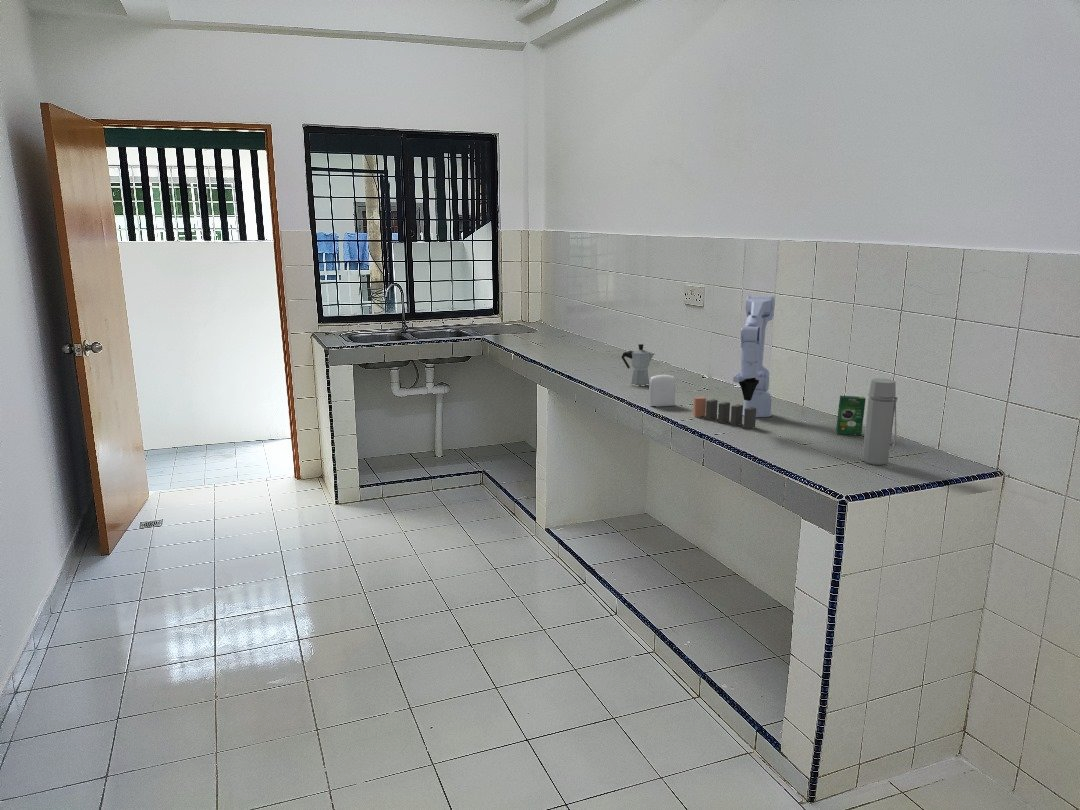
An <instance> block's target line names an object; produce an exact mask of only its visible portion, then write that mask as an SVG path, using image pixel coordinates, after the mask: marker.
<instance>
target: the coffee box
mask: <svg viewBox="0 0 1080 810" xmlns="http://www.w3.org/2000/svg"><path fill="white" fill-rule="evenodd" d="M865 407H866V397H865V396H855V395H854V396H853V395H839V401H838V411H837V418H836V419H837V420H836V426H835V427H836V430H835V433H836V432H837V433H836V435H843V434H844V435H847V434H856V435H855V436H862V435H863V434H862V433H863V424H864V415H865Z"/></svg>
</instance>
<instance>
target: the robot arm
mask: <svg viewBox="0 0 1080 810" xmlns="http://www.w3.org/2000/svg"><path fill="white" fill-rule="evenodd" d="M775 303H776V299H775V297H774V296H773V295H771V296H761V295H757V296H756V295H754V296H753V295H748V296H747V297H746V299H745V312H746V320H745V323H744V327H741V330H740V348H741V355H740V372H737V374H736V375H733V376H732V379H733V380H732V382H733V383H736V384H737V383H738V384H739V387H740V389H741V393H742V396H743V415H742V416H744V413H745V409H746V408H749V407H754V408H756V418H768V417H770V416H771V417H772V414H771V412H772V395H771V393H770V392H769V387H770V371H769V369H767V368H766V367H765V366H764V365H763V363H764V362H763V360H764V352H765V351H764V348H765V341H766V340H765V339H766V327H767V324H768V322H770V321H772V320H773V318H774V314H775V313H774V312H775V306H776V305H775Z"/></svg>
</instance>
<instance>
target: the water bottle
mask: <svg viewBox="0 0 1080 810" xmlns="http://www.w3.org/2000/svg"><path fill="white" fill-rule="evenodd" d="M896 383H897V382H896V381H895V380H894V379H890V378H889V379H888V378H872V379H871V380H870V385H869V389H868V393H867V396H868V397H867V406H866V414H865V415H866V417H865V428H864V437H863V450H862V460H863V462H864V463H866V464H868V465H872V466H885V465H886V464H888V462H889V458H890V457H889V456H890V447H891V448H892V447H893V448H894V447H895V446H896V443H897V402H898V397H897V396H896V392H897V391H896ZM893 425H894V441H893V444H892V442H891V441H892V433H893Z"/></svg>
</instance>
